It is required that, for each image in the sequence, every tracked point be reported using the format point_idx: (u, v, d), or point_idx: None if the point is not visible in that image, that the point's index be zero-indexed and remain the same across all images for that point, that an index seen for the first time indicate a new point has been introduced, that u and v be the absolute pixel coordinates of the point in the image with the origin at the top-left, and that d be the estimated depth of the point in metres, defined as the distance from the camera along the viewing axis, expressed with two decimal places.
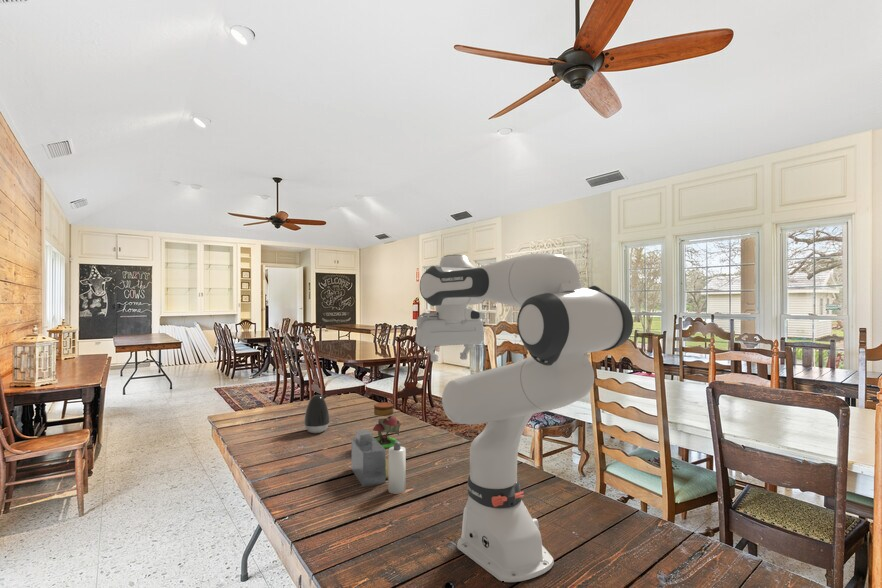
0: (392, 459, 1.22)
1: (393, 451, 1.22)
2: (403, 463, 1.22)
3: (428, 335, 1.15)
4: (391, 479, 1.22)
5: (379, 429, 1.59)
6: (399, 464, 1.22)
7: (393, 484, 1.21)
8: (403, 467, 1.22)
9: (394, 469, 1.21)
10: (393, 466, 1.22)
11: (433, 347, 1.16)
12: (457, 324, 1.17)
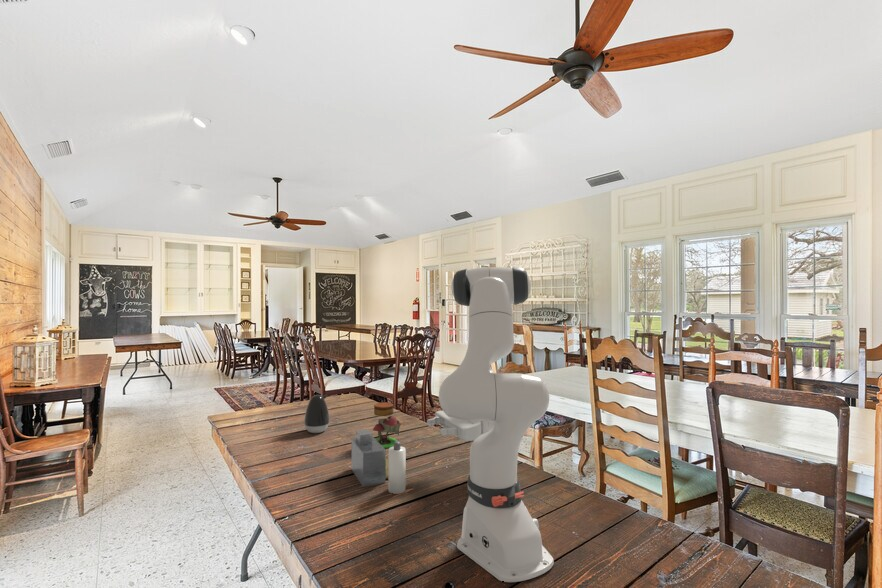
0: (392, 459, 1.22)
1: (393, 451, 1.22)
2: (403, 463, 1.22)
3: None
4: (391, 479, 1.22)
5: (379, 429, 1.59)
6: (399, 463, 1.22)
7: (393, 484, 1.21)
8: (403, 467, 1.22)
9: (394, 469, 1.21)
10: (393, 466, 1.22)
11: (438, 417, 1.36)
12: None
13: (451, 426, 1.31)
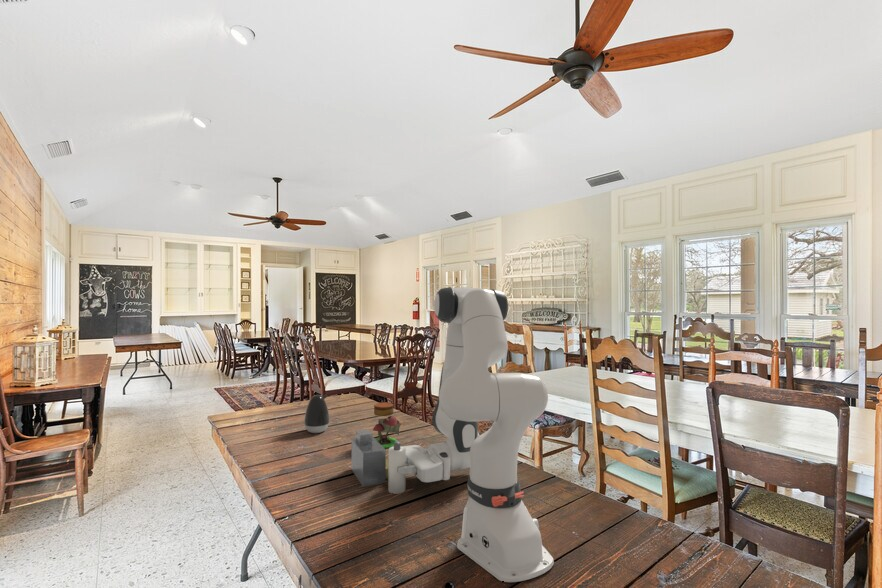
0: (392, 459, 1.22)
1: (393, 451, 1.22)
2: (403, 463, 1.22)
3: (409, 447, 1.34)
4: (391, 479, 1.22)
5: (379, 429, 1.59)
6: (399, 463, 1.22)
7: (393, 484, 1.21)
8: None
9: (394, 469, 1.21)
10: (393, 466, 1.22)
11: None
12: (428, 450, 1.28)
13: (412, 465, 1.25)
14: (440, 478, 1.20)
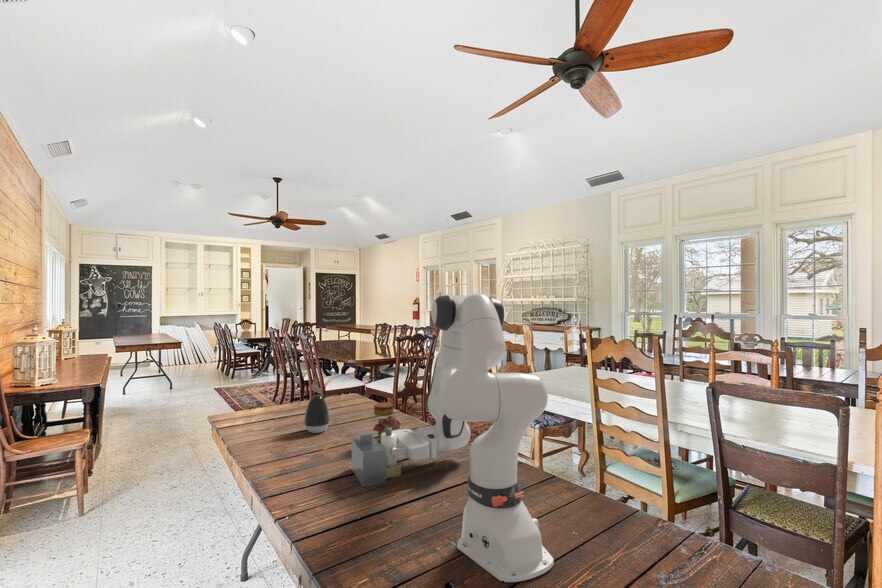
0: (384, 443, 1.34)
1: (384, 436, 1.35)
2: (394, 447, 1.35)
3: (400, 431, 1.46)
4: None
5: (379, 429, 1.59)
6: (390, 448, 1.34)
7: None
8: None
9: None
10: None
11: None
12: (417, 433, 1.40)
13: (402, 445, 1.37)
14: (427, 457, 1.32)
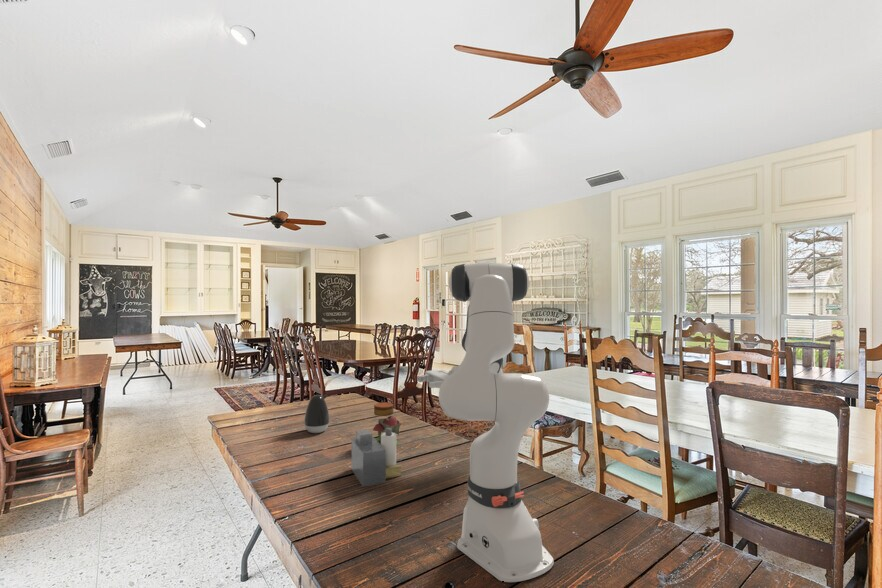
0: (384, 443, 1.34)
1: (384, 436, 1.35)
2: (394, 447, 1.35)
3: (434, 371, 1.52)
4: None
5: (379, 429, 1.59)
6: (390, 448, 1.34)
7: None
8: (394, 451, 1.35)
9: None
10: None
11: (428, 375, 1.49)
12: (452, 370, 1.46)
13: (439, 381, 1.43)
14: None
